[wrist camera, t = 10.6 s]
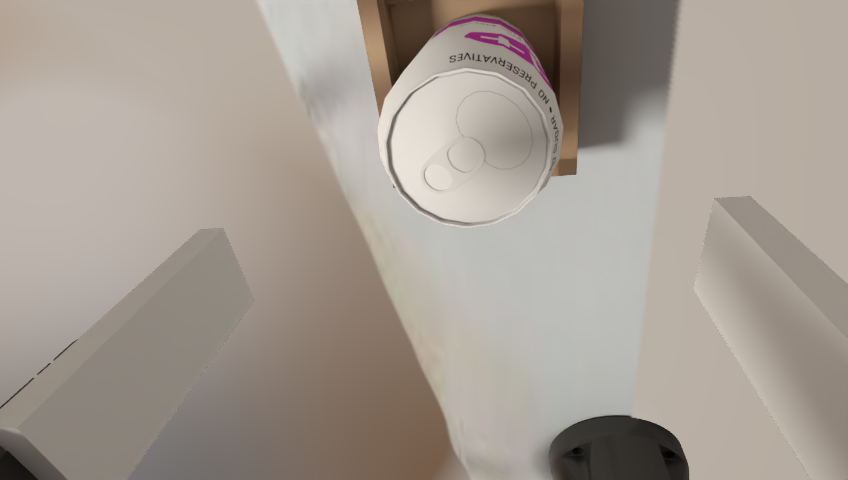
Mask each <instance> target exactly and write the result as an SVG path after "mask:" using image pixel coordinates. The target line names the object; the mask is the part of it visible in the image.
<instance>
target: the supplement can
mask: <svg viewBox="0 0 848 480" xmlns="http://www.w3.org/2000/svg"><path fill="white" fill-rule="evenodd" d="M377 130H378V139H379V148H380V156H381V160H382V162H383V164H384V167H385V169H386V171H387V173H388V175H389V177H390V179H391V181H392V183H393V185H394V186H395V187H396V190H397V192H398V194H399V195H400V196H401V197H402V198H403V199H404V200H405V201H406V202H407V203H409V204H410V205H411V206H412V207H413V208H414V209H415V210H416V211H417V212H418V213H420V214H422V215H424V216H426V217H428V218H430V219H432V220H434V221H436V222H438V223H440V224H444V225H450V226H456V227H462V228H472V227H479V226H487V225H493V224H495V223H498V222H500V221H502V220H504V219H506V218H508V217H510V216H512V215H515V214H517V213H518V212H519V211H520V210H521V209H522V208H523V207H524V206H525V205H526V204H527V203H529V202H530V201H531V200H532V199H533V198H534V197H535V196H536V195H537V194H538V193H539V192H540V191H541V190H542V189H543V188H544V187H545V186H546V184H547V182H548V180H549V178H550V177H551V175H552V173H553V171H554V169H555V167H556V165H557V163H558V161H559V159H560V152H561V144H562V135H563V123H562V119H561V115H560V112H559V108H558V104H557V101H556V97H555V94H554V92H553V89H552V87H551V85H550V83H549V81H548V79H547V77H546V75H545V72H544V70H543V68H542V66H541V64H540V62H539V60H538V58H537V55H536V53H535V51H534V49H533V47H532V45H531V44H530V42H529V41H528V40H527V38H526V37H525V36H524V34H523V33H522V32H521V30H520V29H519V28H518V27H517V26H515V25H514V24H512V23H510V22H509V21H507V20H505V19H504V18H502V17H500V16H497V15H490V14H483V13H473V14H469V15H465V16H461V17H457V18H454V19H453V20H452V21H450V22H449V23H447V24H446V25H444V26H443V27H442V28H440V29H439V30H437V31H436V32H435V34H434V35H433V36H432V37H431V38H430V40H429V41H428V42H427V43H426V45H425V46H424V47H423V48H422V49H421V51H420V52H419V53H418V54H417V56H416V57H415V58H414V59H413V60H412V62H411V63H410V64H409V65H408V66H407V68H406V69H405V70H404V71H403V73H402V74H401V76H400V77H399V79H398V80H397V82H396V83H395V84H394V86H393V87H392V89H391V90H390V92H389V93H388V95H387V96H386V98H385V100H384V104H383V108H382V112H381V116H380V120H379V124H378V128H377Z"/></svg>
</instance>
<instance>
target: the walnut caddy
mask: <svg viewBox="0 0 848 480" xmlns="http://www.w3.org/2000/svg"><path fill="white" fill-rule="evenodd" d="M357 4H358V9H359V14H360V19H361V24H362V30H363V35H364V40H365V45H366V50H367V55H368V60H369V65H370V70H371V75H372V81H373V86H374V91H375V96H376V101H377V106H378V111H379V116H381V112H382V108H383V104H384V100H385V98H386V96H387V95H388V93H389V92H390V90H391V89H392V87H393V86H394V84H395V83H396V82H397V80H398V79H399V77H400V76H401V74H402V73H403V71H404V70H405V69H406V68H407V66H408V65H409V64H410V63H411V62H412V60H413V59H414V58H415V57H416V56H417V54H418V53H419V52H420V51H421V49H422V48H423V47H424V46H425V45H426V43H427V42H428V41H429V40H430V38H431V37H432V36H433V35H434V34H435V32H436V31H437V30H439V29H440V28H442V27H443V26H444V25H446V24H447V23H449V22H450V21H452V20H453V19H454V18H457V17H461V16H465V15H469V14H473V13H483V14H490V15H497V16H500V17H502V18H504V19H505V20H507V21H509V22H510V23H512V24H514V25H515V26H517V27H518V28H519V29H520V30H521V32H522V33H523V34H524V36H525V37H526V38H527V40H528V41H529V42H530V44H531V45H532V47H533V49H534V51H535V53H536V55H537V58H538V60H539V62H540V64H541V66H542V68H543V70H544V72H545V75H546V77H547V79H548V81H549V83H550V85H551V87H552V89H553V92H554V94H555V97H556V101H557V104H558V108H559V112H560V115H561V119H562V123H563V135H562V144H561V152H560V159H559V161H558V163H557V165H556V167H555V169H554V171H553V173H552V175H551V176H563V175H576V169H577V146H578V123H579V100H580V77H581V54H582V30H583V7H584V0H357ZM393 188H396V187H395V186H394V185H393Z"/></svg>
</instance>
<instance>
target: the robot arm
mask: <svg viewBox="0 0 848 480" xmlns="http://www.w3.org/2000/svg"><path fill="white" fill-rule="evenodd" d="M694 291H695V292H696V294H697V295H698V297H699V299H700V300H701V302H702V304H703V305H704V307H705V309H706V310H707V312H708V313H709V315H710V317H711V318H712V320H713V321H714V323H715V325H716V326H717V328H718V330H719V331H720V333H721V335H722V336H723V337H724V339H725V341H726V343H727V344H728V346H729V347H730V349H731V351H732V352H733V354H734V356H735V357H736V359H737V361H738V362H739V364H740V365H741V367H742V369H743V370H744V372H745V374H746V375H747V377H748V378H749V380H750V382H751V383H752V385H753V386H754V388H755V390H756V391H757V393H758V395H759V396H760V398H761V399H762V401H763V403H764V404H765V406H766V407H767V409H768V410H769V412H770V414H771V416H772V417H773V419H774V421H775V422H776V424H777V425H778V427H779V429H780V430H781V432H782V434H783V435H784V437H785V438H786V440H787V442H788V443H789V445H790V447H791V448H792V450H793V451H794V453H795V455H796V456H797V458H798V459H799V461H800V463H801V464H802V466H803V468H804V469H805V471H806V472H807V474H808V476H809V477H810V479H811V480H848V284H847V283H846V282H845V281H844V280H843V279H842V278H840V277H839V276H838V275H837V274H836V273H835V272H834V271H832V269H830V268H829V267H828V266H827V265H826V264H825V263H824V262H823V261H822V260H820V259H819V258H818V257H817V256H816V255H815V254H814V253H813V252H811V251H810V250H809V249H808V248H807V247H806V246H805V245H804V244H803V243H802V242H800V241H799V240H798V239H797V238H796V237H795V236H794V235H793V234H792V233H790V232H789V231H788V230H787V229H786V228H785V227H784V226H783V225H782V224H780V223H779V222H778V221H777V220H776V219H775V218H774V217H773V216H772V215H771V214H769V213H768V212H767V211H766V210H765V209H764V208H763V207H762V206H761V205H759V204H758V203H757V202H756V201H755V200H754V199H753V198H752V197H750V196H745V197H728V198H714V201H713V205H712V210H711V214H710V219H709V223H708V228H707V233H706V237H705V241H704V245H703V250H702V254H701V259H700V263H699V268H698V272H697V276H696V281H695V285H694ZM254 301H255V300H254V297H253V295H252V293H251V290H250V288H249V286H248V284H247V281H246V279H245V277H244V275H243V272H242V270H241V268H240V265H239V264H238V261H237V259H236V257H235V254H234V252H233V250H232V247H231V245H230V243H229V240H228V238H227V236H226V234H225V232H224V229H223V228H214V229H200V230H199V231H198V232H197V233H196V234H194V235H193V236H192V237H191V238H190V239H189V240H188V241H187V242H186V243H184V244H183V245H182V246H181V247H180V248H179V249H178V250H177V251H176V252H174V253H173V254H172V255H171V256H170V257H169V258H168V259H167V260H166V261H165V262H163V263H162V264H161V265H160V266H159V267H158V268H157V269H156V270H155V271H153V272H152V273H151V274H150V275H149V276H148V277H147V278H146V279H144V281H142V282H141V283H140V284H139V285H138V286H137V287H136V288H135V289H133V290H132V291H131V292H130V293H129V294H128V295H127V296H126V297H124V298H123V299H122V300H121V301H120V302H119V303H118V304H117V305H115V306H114V307H113V308H112V309H111V310H110V311H109V312H108V313H107V314H106V315H104V316H103V317H102V318H101V319H100V320H99V321H98V322H97V323H95V324H94V325H93V326H92V327H91V328H90V329H89V330H88V331H87V332H86V333H84V334H83V335H82V336H81V337H80V338H79V339H77V340H76V341H74V342H73V343H71V344H70V345H69V346H68V347H67V348H66V349H65V350H64V351H63V352H61V353H60V354H59V355H58V356H57V357H56V358H55V359H54V361H53V362H52V363H49V364H48V365H47V366H46V367H45V368H44V369H42V370H41V371H40V372H39V373H38V374H37V377H35V378H32V379H31V380H30V381H29V382H28V383H27V384H26V385H25V386H24V387H22V388H21V389H20V390H19V391H18V392H17V393H16V394H15V395H14V396H12V397H11V398H10V399H9V400H8V401H7V402H6V403H4V404H3V405H2V406H1V407H0V480H127V479H128V477H129V476H130V474H131V473H132V472H133V470H134V469H135V467H136V466H137V465H138V463H139V462H140V460H141V459H142V457H143V456H144V455H145V453H146V452H147V451H148V449H149V448H150V446H151V445H152V444H153V442H154V441H155V439H156V438H157V437H158V435H159V434H160V432H161V431H162V429H163V428H164V427H165V425H166V424H167V423H168V421H169V420H170V418H171V417H172V415H173V414H174V413H175V411H176V410H177V409H178V407H179V406H180V404H181V403H182V401H183V400H184V399H185V397H186V396H187V395H188V393H189V391H190V390H191V389H192V388H193V386H194V385H195V383H196V382H197V380H198V379H199V378H200V376H201V375H202V374H203V372H204V371H205V369H206V368H207V366H208V365H209V364H210V362H211V361H212V360H213V358H214V357H215V355H216V354H217V353H218V351H219V350H220V348H221V347H222V345H223V344H224V343H225V341H226V340H227V338H228V337H229V336H230V334H231V333H232V331H233V330H234V329H235V327H236V326H237V324H238V323H239V322H240V320H241V319H242V317H243V316H244V314H245V313H246V312H247V310H248V309H249V308H250V306H251V305H252V303H253V302H254ZM549 456H550V465H551V472H552V476H553V479H554V480H689V467H688V463H687V460H686V457H685V455H684V452H683V450H682V447H681V444H680V442H679V441H678V440H677V438H676V437H675V436H674V435H673V434H672V433H671V432H670V431H668V430H666V429H665V428H663V427H661V426H659V425H657V424H655V423H652V422H649V421H646V420H642V419H636V418H630V417H602V418H596V419H591V420H587V421H583V422H580V423H578V424H575V425H573V426H571V427H569V428H567V429H566V430H564V431H563V432H561V433H560V434H559V435H558V436H557V437H556V438H555V439H554V441H553V442H552V444H551V447H550V451H549Z"/></svg>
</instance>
